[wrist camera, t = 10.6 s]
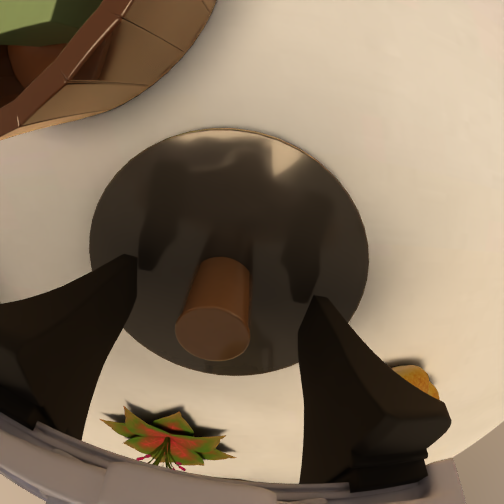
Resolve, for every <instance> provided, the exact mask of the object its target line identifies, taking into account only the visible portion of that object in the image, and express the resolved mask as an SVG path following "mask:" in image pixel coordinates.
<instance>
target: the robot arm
mask: <svg viewBox="0 0 504 504" xmlns="http://www.w3.org/2000/svg"><path fill="white" fill-rule="evenodd" d="M137 264H138V257H136V256H131V255H127V254H123V255H121V256H119V257H117V258H115V259H113V260H111V261H110V262H108V263H106V264H104V265H103V266H101V267H99V268H97V269H95V270H94V271H92V272H90V273H88V274H86V275H84V276H82V277H80V278H78V279H76V280H74V281H72V282H70V283H68V284H66V285H64V286H62V287H59V288H57V289H54V290H52V291H49V292H46V293H43V294H40V295H37V296H34V297H30V298H27V299H23V300H19V301H15V302H10V303H4V304H0V474H2V475H3V476H5V477H6V478H8V479H9V480H11V481H12V482H14V483H15V484H17V485H18V486H20V487H22V488H23V489H25V490H27V491H28V492H30V493H32V494H34V495H35V496H37V497H39V498H41V499H43V500H44V501H46V504H466V502H465V498H464V495H463V490H462V487H461V483H460V480H459V476H458V473H457V470H456V466H455V463H454V460H453V458H448V459H444V460H440V461H436V462H433V463H430V464H428V465H425V462H424V459H426V458H427V457H428V453H427V448H428V447H429V446H430V445H432V444H433V443H434V442H435V441H437V440H438V439H439V438H440V437H441V436H442V435H443V434H444V433H445V432H446V431H447V430H448V429H449V427H450V425H451V418H450V416H449V413H448V411H447V408H446V406H445V403H444V402H442V401H440V400H438V399H436V398H434V397H432V396H431V395H429V394H427V393H425V392H423V391H422V390H420V389H419V388H417V387H415V386H414V385H412V384H411V383H409V382H408V381H407V380H405V379H404V378H402V377H401V376H400V375H399V374H397V373H396V372H395V371H394V370H392V369H391V368H390V367H389V366H388V365H386V364H385V363H384V362H383V361H382V360H381V359H380V358H379V357H378V356H377V355H376V354H375V353H374V352H373V351H372V350H371V349H370V348H369V347H368V346H367V345H366V344H365V343H364V342H363V341H362V339H361V338H360V337H359V336H358V335H357V334H356V332H355V331H354V330H353V329H352V328H351V326H350V325H349V324H348V323H347V321H346V320H345V319H344V317H343V316H342V315H341V314H340V312H339V311H338V310H337V309H336V307H335V306H334V305H333V303H332V302H331V301H330V300H329V299H328V298H327V297H322V296H317V295H313V297H312V300H311V302H310V304H309V307H308V309H307V311H306V314H305V316H304V318H303V321H302V323H301V325H300V328H299V330H298V359H299V367H300V374H301V382H302V389H303V397H304V440H303V455H302V466H301V475H300V482H299V484H282V483H263V482H250V481H240V480H231V479H224V478H216V477H210V476H204V475H198V474H193V473H187V472H183V471H178V470H173V469H169V468H165V467H161V466H157V465H153V464H149V463H145V462H142V461H138V460H135V459H131V458H128V457H125V456H122V455H119V454H116V453H113V452H110V451H107V450H104V449H101V448H99V447H96V446H93V445H91V444H88V443H86V442H83V441H81V440H82V435H83V431H84V426H85V422H86V418H87V414H88V410H89V407H90V403H91V400H92V397H93V393H94V390H95V387H96V384H97V381H98V379H99V376H100V373H101V370H102V368H103V365H104V363H105V361H106V359H107V356H108V354H109V353H110V351H111V349H112V347H113V345H114V343H115V342H116V340H117V338H118V336H119V334H120V333H121V331H122V329H123V327H124V325H125V323H126V322H127V320H128V318H129V316H130V313H131V311H132V309H133V306H134V303H135V301H136V298H137Z"/></svg>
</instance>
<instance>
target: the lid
mask: <svg viewBox="0 0 504 504" xmlns="http://www.w3.org/2000/svg"><path fill="white" fill-rule="evenodd" d="M89 253H90V261H91V268H92V271H94V270H95V269H97V268H99V267H101V266H103V265H104V264H106V263H108V262H110V261H111V260H113V259H115V258H117V257H119V256H121V255H123V254H127V255H131V256H136V257H138V264H137V298H136V301H135V303H134V306H133V309H132V311H131V313H130V316H129V318H128V320H127V322H126V323H125V325H124V327H123V328H124V329H125V330H126V332H128V333H129V334H130V335H131V336H132V337H133V338H134V339H135V340H136V341H138V342H139V343H140V344H142V345H143V346H144V347H146V348H147V349H149V350H150V351H152V352H153V353H155V354H157V355H159V356H160V357H162V358H164V359H166V360H168V361H170V362H173V363H175V364H177V365H180V366H183V367H186V368H189V369H192V370H196V371H200V372H204V373H210V374H216V375H228V376H244V375H255V374H263V373H268V372H272V371H276V370H280V369H283V368H286V367H289V366H292V365H294V364H296V363H298V362H299V359H298V330H299V328H300V325H301V323H302V321H303V318H304V316H305V314H306V311H307V309H308V307H309V304H310V302H311V300H312V297H313V295H317V296H322V297H327V298H328V299H329V300H330V301H331V302H332V303H333V305H334V306H335V307H336V309H337V310H338V311H339V312H340V314H341V315H342V316H343V317H344V319H345V320H346V321H347V323H348V322H349V321H350V319H351V317H352V316H353V314H354V312H355V311H356V309H357V307H358V305H359V303H360V300H361V298H362V295H363V292H364V289H365V285H366V281H367V275H368V266H369V253H368V242H367V237H366V233H365V228H364V225H363V223H362V220H361V217H360V215H359V212H358V210H357V208H356V206H355V204H354V203H353V201H352V199H351V197H350V196H349V194H348V193H347V191H346V190H345V189H344V187H343V186H342V185H341V184H340V182H339V181H338V180H337V179H336V178H335V176H334V175H333V174H332V173H331V172H330V171H328V170H327V169H326V168H325V167H324V166H323V165H322V164H321V163H320V162H319V161H317V160H316V159H315V158H313V157H312V156H310V155H309V154H307V153H306V152H304V151H303V150H301V149H300V148H298V147H296V146H294V145H292V144H290V143H287V142H285V141H283V140H281V139H279V138H276V137H273V136H269V135H266V134H263V133H260V132H256V131H249V130H243V129H236V128H209V129H202V130H195V131H189V132H186V133H182V134H179V135H176V136H173V137H170V138H167V139H165V140H163V141H161V142H159V143H157V144H155V145H152V146H150V147H148V148H147V149H145V150H144V151H142V152H141V153H139V154H138V155H137V156H135V157H134V158H132V159H131V160H130V161H129V162H128V163H127V164H126V165H125V166H124V167H123V168H122V169H121V170H120V171H119V172H117V174H116V175H115V176H114V178H113V179H112V180H111V182H110V183H109V184H108V186H107V187H106V189H105V191H104V192H103V194H102V196H101V198H100V200H99V202H98V204H97V207H96V210H95V213H94V216H93V219H92V225H91V231H90V244H89Z"/></svg>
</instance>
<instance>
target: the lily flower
mask: <svg viewBox="0 0 504 504" xmlns="http://www.w3.org/2000/svg"><path fill="white" fill-rule="evenodd" d="M124 409H125V417H126V419H125V423H118V422H112V421H105V420H102V419H100V420H102V421H103V422H104V423H106V424H107V425H108V426H110V427H112V429H113V430H114V431H115V432H117V433H118V434H120V435H123V436H125V437H128V438H131V439H129V440H127V441H125V443H124V444H127V445H128V446H130V447H132V448H135V449H136V450H137V451H139V452H141V453H144V454H147V455H146V456H144V457H139V458H137V459H136V460H138V461H139V460H143V459H144V458H149V457H153V459H156V461H155V462H154V463H153V465H157V466H158V464H159V463H160V462H165V463H166V468H168V467H169V469H172V468H171V466H172V464H171V462H174V463H175V464H176V465H178V466H179V465H203V466H204V462H203V459H207V460H221V459H227V458H236V457H233V456H230V455H228V454H226V453H223V452H221V451H219V450H217V449H215V448H216V447H217V445H218V444H219V443H220V439H223V438H224V437H225V436H226V435H225V436H214V437H193V436H194V432H193V430H192V429H191V427H190V426H189V425H188V423H187V422H186V421H185V419H183V418H182V417H181V416H182V415H181V413H180V412H177V413H176V414H173V415H170V416H169V417H164V418H161V419H158V420H155V421H153V422H152V423H151V426H150V425H148V424H147V423H145V422H144V421H143V420H141V419H140V418H139V417H137V416H136V415H135V414H133V413H131V412H130V411H129V410H128V409H127V408H126V407H124ZM153 459H152V460H153ZM152 460H151V461H152ZM151 461H149V462H148V463H150V462H151ZM169 462H170V464H171V466H170V464H169ZM162 466H164V464H163V465H162ZM172 467H173V466H172ZM179 468H181V469H182V470H184V471H185V468H183V467H181V466H179ZM173 470H175V469H174V468H173Z"/></svg>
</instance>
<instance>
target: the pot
mask: <svg viewBox="0 0 504 504" xmlns="http://www.w3.org/2000/svg"><path fill="white" fill-rule="evenodd" d="M216 1H217V0H102V2H101V4H100V5H99V7H98V8H97V9H96V10H95V11H94V13H93V14H92V15H91V16H90V17H89V18H88V19H87V20H86V22H85V23H84V24H83V25H82V26H81V27H80V29H79V30H78V31H77V32H76V33H75V35H74V36H73V37H72V38H71V40H70V41H69V42H68V43H62V44H54V45H46V46H40V47H34V46H19V45H0V140H4V139H7V138H10V137H13V136H16V135H20V134H23V133H27V132H30V131H34V130H38V129H42V128H45V127H50V126H54V125H58V124H62V123H67V122H71V121H76V120H80V119H83V118H86V117H89V116H94V115H97V114H100V113H103V112H107V111H109V110H111V109H114V108H116V107H118V106H120V105H122V104H124V103H126V102H127V101H129V100H131V99H133V98H134V97H136V96H138V95H139V94H141V93H142V92H143V91H145V90H146V89H148V88H149V87H151V86H152V85H153V84H154V83H156V82H157V81H158V80H159V79H160V78H161V77H163V76H164V75H165V74H166V73H167V72H168V71H169V70H170V69H171V68H172V67H173V66H174V65H175V64H176V63H177V62H178V61H179V60H180V59H181V58H182V57H183V56H184V54H185V53H186V52H187V51H188V49H189V48H190V47H191V46H192V45H193V43H194V42H195V40H196V39H197V37H198V36H199V34H200V33H201V31H202V30H203V28H204V27H205V25H206V23H207V21H208V19H209V17H210V15H211V13H212V11H213V8H214V6H215V3H216Z"/></svg>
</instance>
